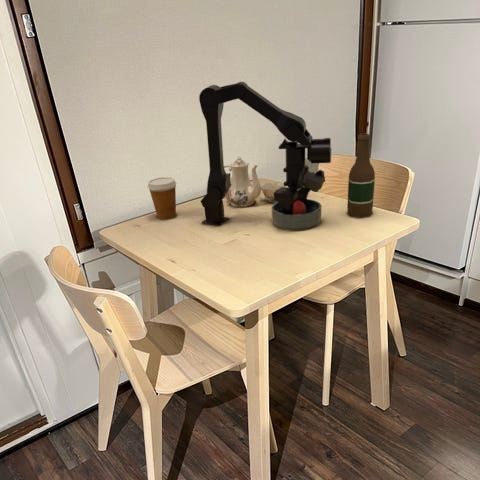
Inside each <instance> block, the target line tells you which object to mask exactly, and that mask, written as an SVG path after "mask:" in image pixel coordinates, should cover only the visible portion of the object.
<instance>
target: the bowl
mask: <svg viewBox="0 0 480 480" xmlns="http://www.w3.org/2000/svg"><path fill="white" fill-rule="evenodd" d="M305 206H306V213H305V214H285V213H284V211H283V209H282V207H281V206H280V204H279V202H274V203H273V204H272V206H271V208H270V211H271V213H270V214H271V222H272V224H273V225H274V226H275V227H277V228H278V229H282V230H288V231H300V230H301V231H302V230H308V229H311V228H314V227H316V226H317V225H319V223H320V222H321V221H322V207H323V206H322V204H321V202H319V201H317V200H315V199H310V198H307V200H306V204H305Z"/></svg>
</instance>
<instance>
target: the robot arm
mask: <svg viewBox="0 0 480 480" xmlns="http://www.w3.org/2000/svg"><path fill="white" fill-rule="evenodd" d="M198 100H199V105H200V109H201V113H202V116H203V117H204V119H205V124H206V136H207V137H206V138H207V149H208V163H209V174H208V179H207V185H206V194H205V195H204V196H203V197H202V198H201V200H200V203H201V206H202V208H204V217H205V219H204V220H202V221H201V223H202V224H204V225H212V226H220V225H222V224H224V223H225V222H226V221H228V220H229V216H226V215H225V207H224V206H225V205H224V198H226V196H227V192H228V191H229V188H230V187H231V183H230V178H231V177H232V174H231V172H228V173H227V172H226V170H225V168H224V166H225V165H224V150H223V148H224V147H223V133H222V132H223V131H222V130H223V129H222V117H223V111H224V105H225V103H228V102H232V101H236V100H240V102H242V103H243V104H245V105H247V106H248V107H250V108H251V109H252V110H254V111H255V112H256V113H258V114H259V115H260V116H262V117H263V118H265V119H267V120H268V121H269V122H271V123H272V124H273V125H274V126H275V128H276V129H277V130H278V132H280V134H282V135H283V137H284V139H283V141H282V142H281V143H280V144H279V146H278V149H279V150H285V167H284V168H283V169H282V171H283V173H285V179H286V180H285V181H284V182H283V185H284V186H286V187H281V188H279V189H278V190H276V191H275V192H274V200H276V201H277V202H279V204H280V206H281V207H282V209H283V211H284V213H285V214H293V206H294V203H295V202H296V201H297V200H299V201H301V202H303V203H304V204H306V200H307V199H308V196H309V193H310V192H311V191H312V192H314V193H318V192H319V191H320V190H322V189H323V185H324V183H326V177H325V171H324V170H323V169H318V170H317V171H316V172H315V171H313V172H311V171H310V168H309V166H308V164H307V165H306V160H307V161H308V162H310V164H331V163H332V143H331V142H332V139H331V137H325V138H324V137H323V138H313V135H311V133H310V132H309V131H308V129H307V124H306V121H305V119H303V117H301V116H299V115H296V114H294V113H292V112H290V111H287V110H284V109H282V108H280V107H278V106H277V105H276V104H274V103H273V102H271V101H270V100H269V99H267V98H266V97H265V96H263V95H262V94H261V93H260V92H258V91H256V90H255V89H254V88H252V87H250V86H249V85H248V83H246V82H245V81H238V82H236V83H232V84H227V85H223V86H219V85H217V84H211V85H208V86H207V87H205V88H203V89H202V90H201V91H200V93H199V96H198ZM277 202H276V203H277Z"/></svg>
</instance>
